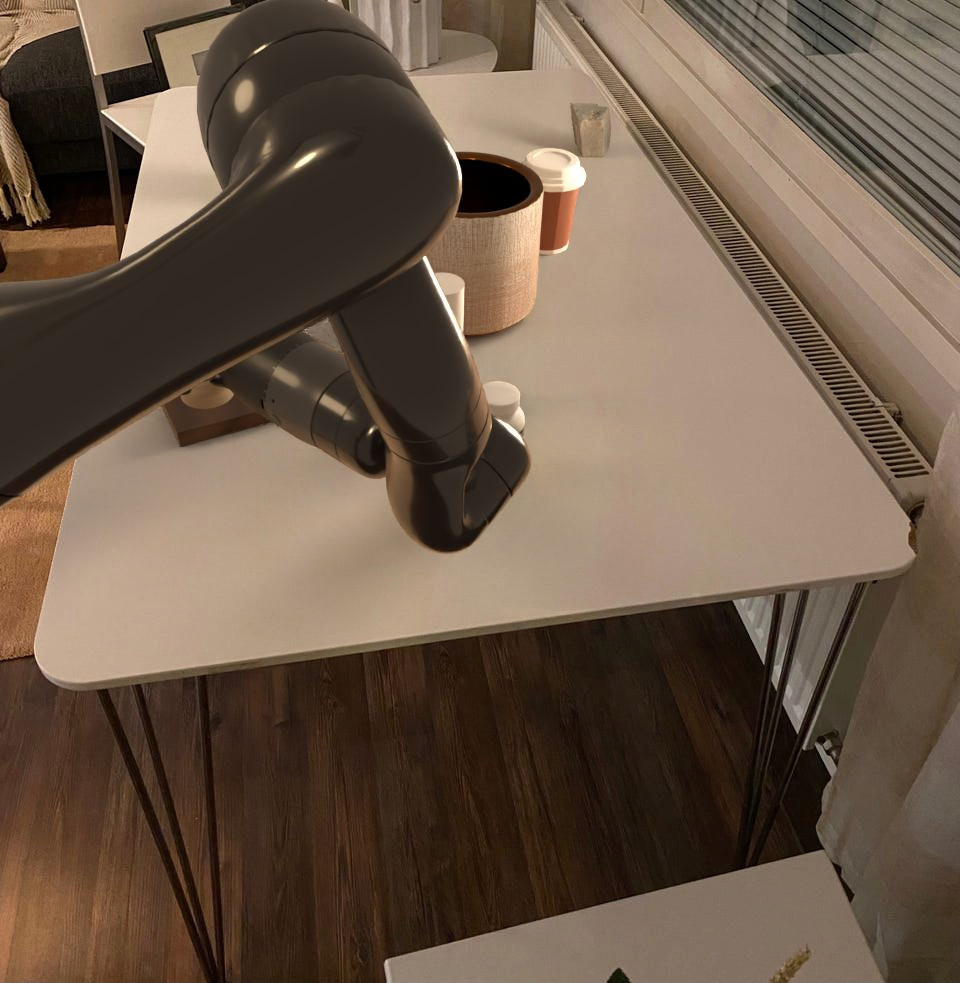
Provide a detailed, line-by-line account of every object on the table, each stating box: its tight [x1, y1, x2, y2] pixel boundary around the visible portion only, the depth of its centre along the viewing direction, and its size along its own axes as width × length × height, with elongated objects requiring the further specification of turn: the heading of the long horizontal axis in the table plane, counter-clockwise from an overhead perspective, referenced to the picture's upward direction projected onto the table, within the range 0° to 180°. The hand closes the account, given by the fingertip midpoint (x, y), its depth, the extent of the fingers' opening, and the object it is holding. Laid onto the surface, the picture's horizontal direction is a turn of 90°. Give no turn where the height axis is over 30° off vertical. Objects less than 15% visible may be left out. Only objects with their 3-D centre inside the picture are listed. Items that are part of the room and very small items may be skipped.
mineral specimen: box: [569, 102, 612, 158], centre depth 153 cm, size 7×9×8 cm
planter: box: [426, 151, 544, 336], centre depth 115 cm, size 18×18×16 cm
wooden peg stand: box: [180, 381, 234, 409], centre depth 84 cm, size 5×5×13 cm
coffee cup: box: [521, 147, 587, 256], centre depth 129 cm, size 9×9×12 cm
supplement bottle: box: [482, 380, 526, 438], centre depth 94 cm, size 5×5×10 cm
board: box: [161, 395, 272, 447], centre depth 104 cm, size 14×14×2 cm
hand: (172, 307), depth 84 cm, fingers closed on wooden peg stand, 2 cm apart
